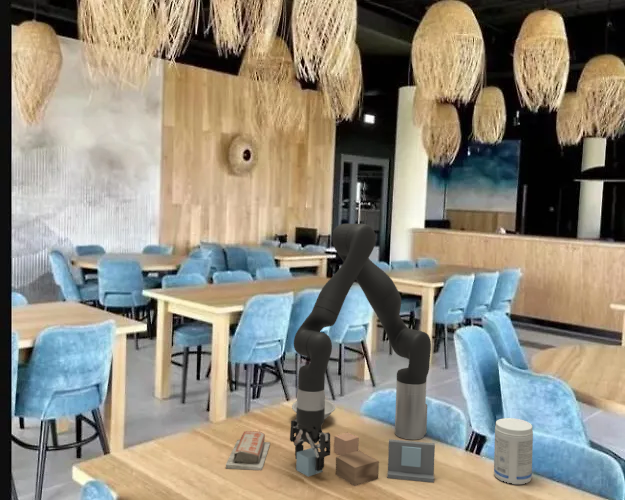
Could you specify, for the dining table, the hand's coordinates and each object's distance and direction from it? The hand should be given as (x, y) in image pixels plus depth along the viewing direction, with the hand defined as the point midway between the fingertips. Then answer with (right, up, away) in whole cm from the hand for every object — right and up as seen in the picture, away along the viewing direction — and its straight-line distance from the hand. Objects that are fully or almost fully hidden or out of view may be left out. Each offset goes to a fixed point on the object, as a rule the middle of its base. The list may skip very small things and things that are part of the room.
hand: (308, 464), depth 161 cm
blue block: (0, -2, 0) cm, 2 cm away
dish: (+1, 0, +38) cm, 38 cm away
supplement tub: (+54, -3, -1) cm, 54 cm away
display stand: (+27, -3, -1) cm, 27 cm away
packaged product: (-17, -1, +9) cm, 19 cm away
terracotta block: (+11, -1, +13) cm, 17 cm away
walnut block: (+13, -3, -2) cm, 13 cm away
